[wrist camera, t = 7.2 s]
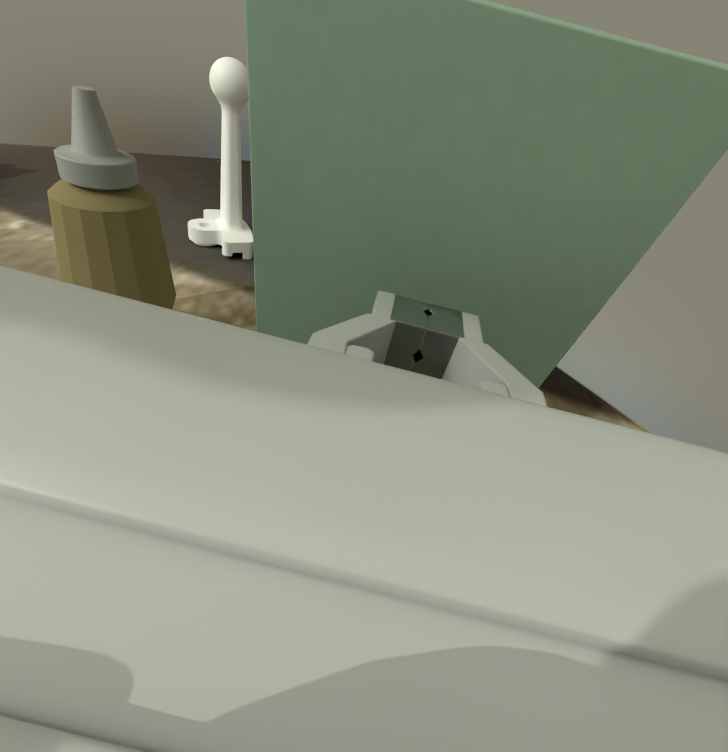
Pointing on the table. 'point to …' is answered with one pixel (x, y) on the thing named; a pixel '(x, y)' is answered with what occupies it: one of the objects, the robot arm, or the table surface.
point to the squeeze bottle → (106, 214)
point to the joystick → (227, 166)
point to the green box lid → (464, 163)
